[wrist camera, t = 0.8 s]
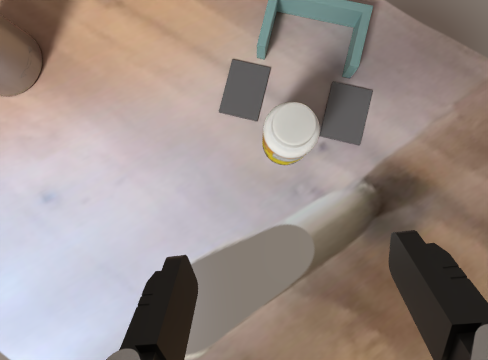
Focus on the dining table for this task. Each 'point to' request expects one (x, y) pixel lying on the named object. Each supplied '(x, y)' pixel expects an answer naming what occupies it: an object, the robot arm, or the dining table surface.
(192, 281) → the robot arm
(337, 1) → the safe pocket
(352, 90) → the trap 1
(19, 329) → the dining table surface
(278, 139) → the supplement bottle
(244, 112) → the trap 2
